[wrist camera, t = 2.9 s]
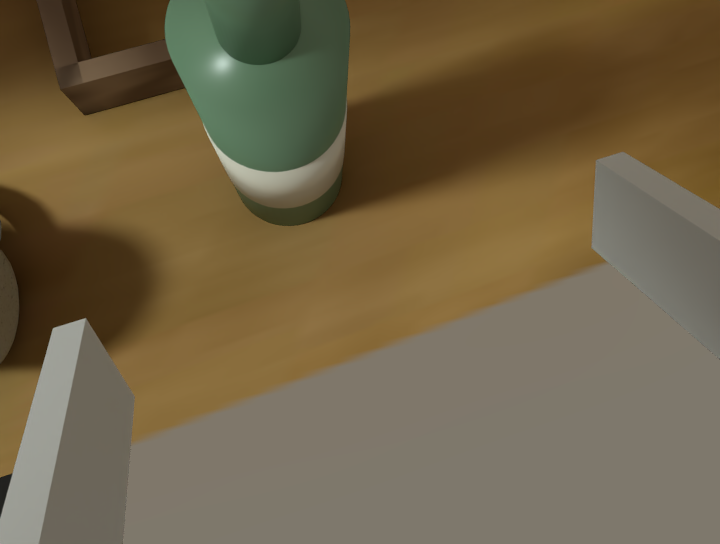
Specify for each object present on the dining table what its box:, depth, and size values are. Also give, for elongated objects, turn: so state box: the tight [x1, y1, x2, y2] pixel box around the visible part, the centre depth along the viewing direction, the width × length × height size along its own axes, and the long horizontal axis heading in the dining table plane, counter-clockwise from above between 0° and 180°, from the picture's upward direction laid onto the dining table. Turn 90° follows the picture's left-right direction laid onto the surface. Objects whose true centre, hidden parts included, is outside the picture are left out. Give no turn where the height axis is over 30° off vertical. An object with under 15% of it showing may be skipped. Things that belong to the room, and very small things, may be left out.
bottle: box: [165, 0, 350, 226], centre depth 23 cm, size 6×6×20 cm
